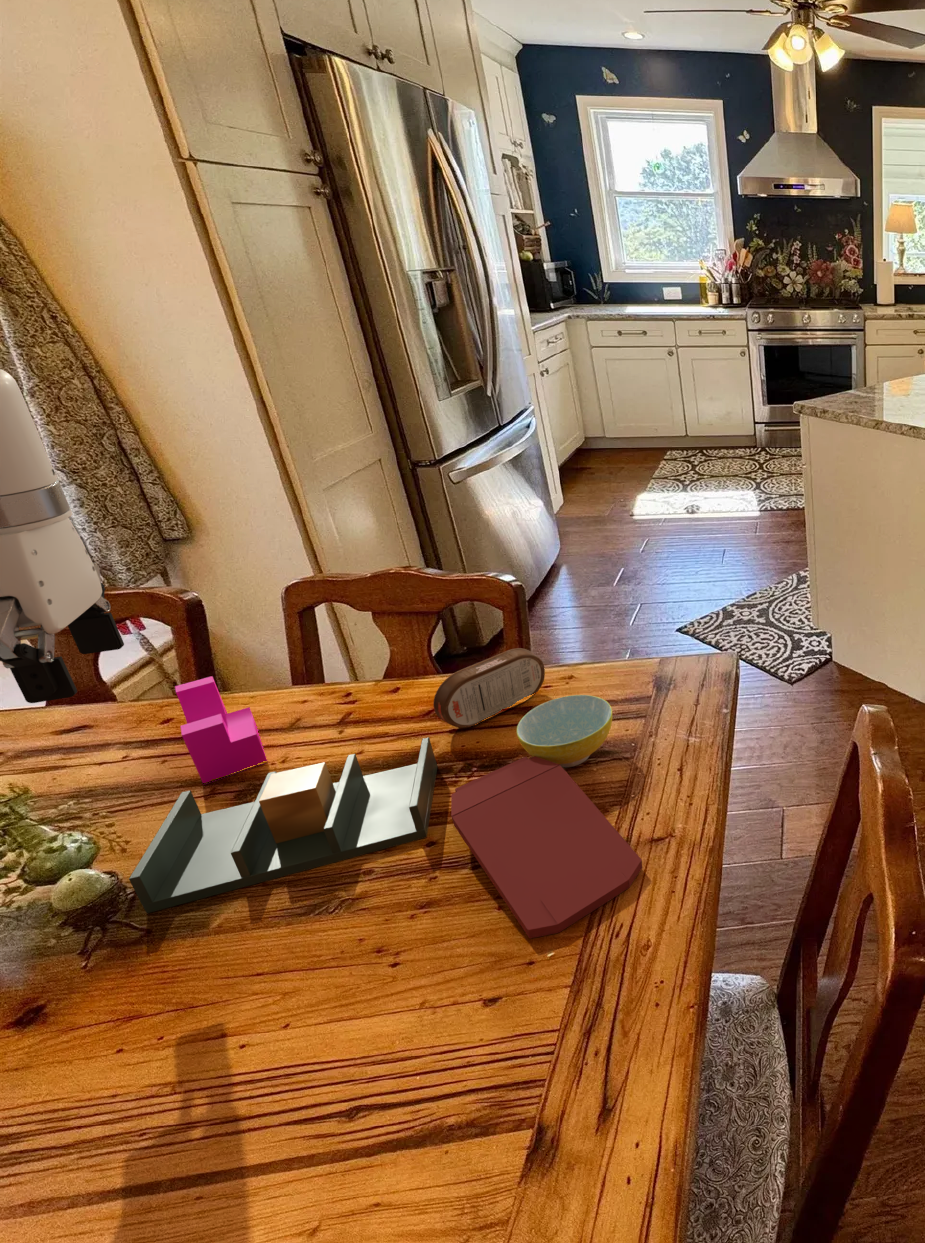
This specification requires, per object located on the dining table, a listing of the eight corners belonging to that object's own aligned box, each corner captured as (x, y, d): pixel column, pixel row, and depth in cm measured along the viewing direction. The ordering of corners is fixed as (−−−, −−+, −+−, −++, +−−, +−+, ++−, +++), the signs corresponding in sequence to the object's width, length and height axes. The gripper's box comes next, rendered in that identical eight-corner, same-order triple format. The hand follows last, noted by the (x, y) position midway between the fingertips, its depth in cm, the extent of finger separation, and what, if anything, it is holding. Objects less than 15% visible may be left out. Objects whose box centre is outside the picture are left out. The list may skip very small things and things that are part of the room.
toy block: (267, 762, 96) (249, 714, 93) (203, 784, 92) (181, 735, 89) (253, 714, 106) (236, 669, 103) (194, 732, 102) (175, 686, 99)
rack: (146, 914, 74) (128, 879, 73) (196, 824, 86) (181, 792, 84) (426, 837, 85) (417, 805, 83) (437, 766, 96) (429, 736, 94)
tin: (540, 685, 114) (531, 637, 111) (552, 691, 113) (543, 643, 110) (439, 733, 103) (425, 682, 99) (451, 741, 101) (437, 689, 98)
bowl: (587, 790, 92) (579, 750, 90) (505, 779, 94) (495, 739, 92) (634, 736, 103) (628, 699, 100) (559, 727, 105) (552, 690, 102)
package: (275, 843, 82) (258, 801, 79) (287, 815, 86) (271, 773, 84) (331, 829, 84) (315, 787, 82) (339, 802, 88) (325, 761, 86)
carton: (650, 896, 82) (545, 771, 95) (648, 867, 80) (541, 742, 93) (539, 969, 73) (441, 820, 87) (534, 939, 71) (434, 790, 84)
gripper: (1, 486, 71) (71, 641, 77) (-130, 546, 57) (-31, 730, 63) (106, 478, 74) (166, 628, 81) (8, 533, 60) (89, 710, 66)
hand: (79, 673), depth 72 cm, fingers open, 9 cm apart
